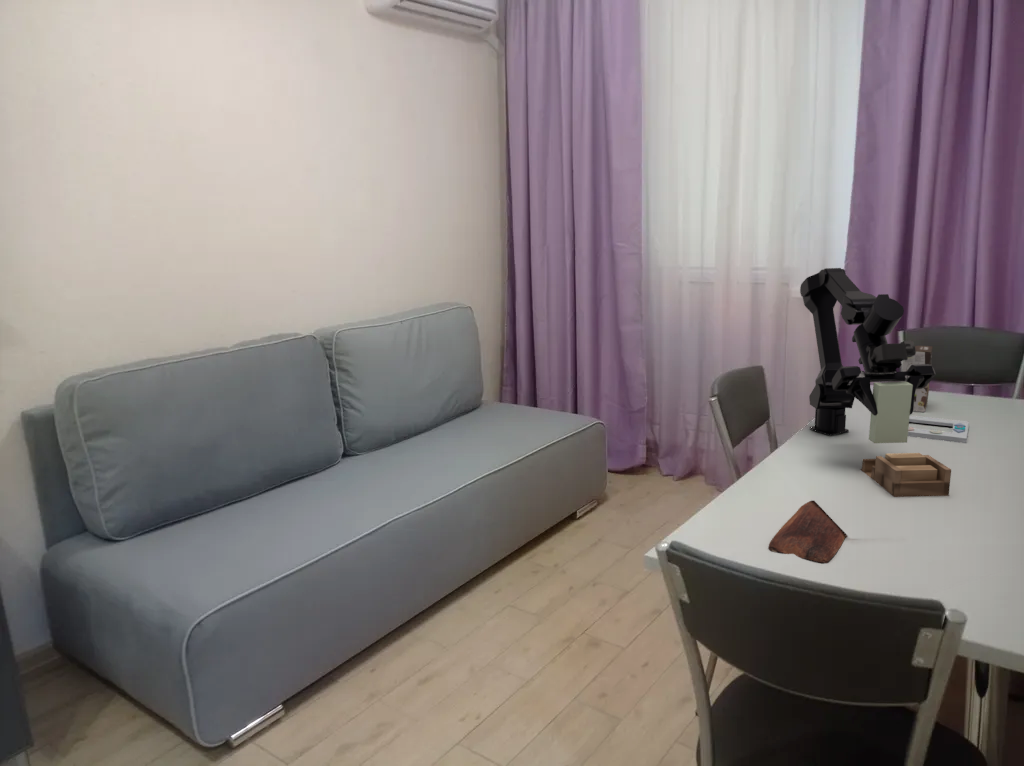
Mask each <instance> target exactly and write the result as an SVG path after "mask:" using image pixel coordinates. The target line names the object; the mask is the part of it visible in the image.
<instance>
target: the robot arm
mask: <svg viewBox="0 0 1024 766" xmlns="http://www.w3.org/2000/svg"><path fill="white" fill-rule="evenodd" d="M799 287H800V288H799V293H800V296H801V297H802V300H803V305H804V306H805V308H806V309H807V310H808V311H809V312H810V313H811V314H812V319H813V325H814V332H815V339H816V340H815V341H816V345H817V351H818V352H817V353H818V361H819V365H820V370H819V372H818V375H817V377H816V378H815V381H814V382H815V386H814V387H813V389H812V391H811V393H810V394H809V399H808V400H809V406H811V407H813V408H814V409H815V410H814V411H815V415H814V426H809V429H810V428H811V427H812V428H811V429H813V430H812V431H814V430H816V431H815V432H817V431H818V433H820V432H821V433H820V434H824V435H826V436H834V435H838V434H845V433H849V431H850V430H849V429H848V428H846V421H847V414H846V409H853V405H854V401H855V399H856V400H858V401H859V402H860V403H861V404H862V405H863V406H864V407H865V408H866V409H867V411H869V412H870V414H871V413H872V414H873V415H874V416H876V415H877V414H878V411H877V406H876V403H875V400H874V397H873V390H872V388H871V383H875V382H908V383H910V384H912V385H913V388H912V398H911V407H910V415H911V416H912V415H913V414H914V413H913V412H914V411H913V407H914V397H915V391H916V389H922V388H925V387H926V386H927V385H928V383H929V382H931V381H932V380H933V379H934V378H935V376H937V374H936V371H935V368H934V367H933V365H932V364H931V365H929V364H916V365H911V366H910V368H909V369H908V370H907V371H905V372H902V371H897V369H900V368H901V366H903V363H902V362H903V360H907V359H908V357H912V356H914V355H915V354H916V350H915V346H916V345H915V343H914V341H913V340H903V341H900V342H899V343H889V342H888V339H887V336H888V335H890V334H891V332H893V330H894V328H895V327H896V326H897V324H898V323H899V321H900V320H901V319H902V317H903V316H904V312H905V310H904V307H903V305H901V303H900V302H898V300H895V299H893V298H890V296H889V295H890V294H889V293H884V294H883V293H879V294H877V296H875V295H873V294H871V293H867V292H864V291H861V289H860V288H859V287H858V286H856V284H855V283H854V282H853V281H852V280H851V279H850V278H849V276H848V275H847V273H846V270H845V269H844V268H841V267H830V268H829V267H828V268H827V267H826V268H824V269H821V270H820V271H819V272H818V273H815V274H812V275H809V276H807V277H806V278H805V279H804V280H803V281H802V282H801V284H800V286H799ZM837 302H838V303H839V305H840V306H841V311H840V315H841V318H842V319H843V321H844V322H845V324H847V325H849V326H852V325H853V326H856V328H855V329H854V332H853V335H852V337H851V342H852V343H856V346H857V350H858V353H859V358H858V363H859V364H858V365H862V368H863V370H861V369H862V368H861V367H860V366H858V365H855V366H854V365H853V366H849V365H848V366H844V365H843V363H842V358H841V357H842V356H841V350H840V344H839V338H838V333H837V332H838V331H837V325H836V318H835V312H834V308H835V306H836V304H837ZM857 325H858V326H857ZM929 384H930V383H929ZM811 429H810V430H811Z"/></svg>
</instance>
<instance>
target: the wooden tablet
mask: <svg viewBox="0 0 1024 766" xmlns="http://www.w3.org/2000/svg"><path fill="white" fill-rule="evenodd" d="M846 537H847V533H846V532H845V531H844V530H843V529H842V528H841V527H840V526H839V525H838V524H837V523H836V522H835V521H834V519H832V518H831V516H830V515H828V513H827V511H825V510H824V509H823V508H822V507H821V506H820V505H819V504H818V503H817V502H816V501H815V500H810V501H808V502H806V503H804V504H803V505H801V506H800V507H799V508H798V510H797V511H796V512H794V514H793V515H792V516H790V518H789V519H788V520H787V521H786V522H785V523H784V524H783V525H782V526H781V527H780V528H779V529H778V532H776V533H775V535H773V537H772V539H771V540H770V541H769V544H768V549H769V551H770V552H773V553H777V554H782V555H795V556H796V557H798V558H800V559H802V560H806V561H810V562H814V563H820V564H827V563H828V562H829V561H831V560H832V558H833V557H834V556H835V555H836V554H837V552H838V551H839V550H840V548H841V546H842V545H843V543H844V542H845V541H844V540H845V539H846Z"/></svg>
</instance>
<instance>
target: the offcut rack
mask: <svg viewBox="0 0 1024 766" xmlns="http://www.w3.org/2000/svg"><path fill="white" fill-rule="evenodd" d="M923 455H924V456H925V457H926V463H925V465H931V466H932V467H934V468H936V469H937V479H936V481H901V470H900V469H899V468H897V467H896V466H894V465H893V464H892V463H890V462H889V461H887V460H886V459H885V457H883V456H882V455H878V456H877V455H876V457H875V458H862V462H861V463H862V464H861V468H860V469H859V470H860V471H862V472H863V473H864V474H865V475H867V477H869V478H870V479H872V480H873V481H874V482H875V483H876V484H878V485H879V486H880V487H881V488H882V489H884V490H885V491H886V492H887V493H889V494H890V495H891V496H892V497H894V498H904V497H905V498H908V497H909V498H910V497H916V498H917V497H946V496H947V497H949V496H950V487H951V479H952V478H951V477H952V468H950V467H948V466H947V465H946V464H943V463H941V461H939V460H937V459H936V458H934V457H932V456H930V455H929V454H923Z"/></svg>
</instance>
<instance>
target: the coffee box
mask: <svg viewBox="0 0 1024 766" xmlns="http://www.w3.org/2000/svg"><path fill="white" fill-rule="evenodd" d="M933 348H934V347H933V346H932V345H931V346H930V345H915V350H916V354H915V355H914V356H912V357H908V359H907V360H903V361H902V370H901V372H905V371H907V370H908V369H909V368H910V366H911V365H916V364H929V365H932V360H933V359H932V358H933ZM930 382H931V381H930ZM930 382H929V383H928V385H927V386H926V387H925V388H922V389H916V391H915V397H914V407H913V412H918V413H925V412H926V409H927V406H928V403H929V402H928V401H929V393H930Z"/></svg>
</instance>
